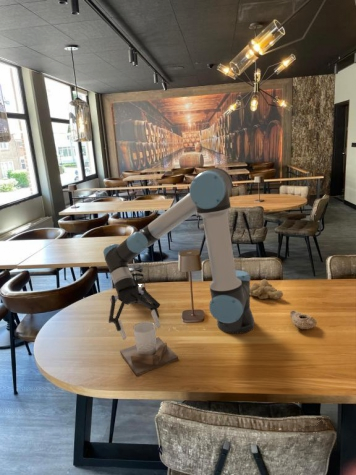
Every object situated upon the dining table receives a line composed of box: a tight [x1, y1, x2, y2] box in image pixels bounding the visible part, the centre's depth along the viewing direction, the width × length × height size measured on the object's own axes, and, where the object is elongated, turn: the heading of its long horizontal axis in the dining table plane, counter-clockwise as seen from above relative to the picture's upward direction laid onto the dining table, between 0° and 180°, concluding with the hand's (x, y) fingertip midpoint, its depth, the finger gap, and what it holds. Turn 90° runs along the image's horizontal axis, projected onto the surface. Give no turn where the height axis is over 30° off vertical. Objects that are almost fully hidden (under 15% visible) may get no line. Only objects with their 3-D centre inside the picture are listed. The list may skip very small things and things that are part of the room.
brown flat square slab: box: [119, 336, 179, 377], centre depth 123 cm, size 16×16×3 cm
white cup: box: [133, 321, 157, 355], centre depth 124 cm, size 8×8×10 cm
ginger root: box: [250, 278, 284, 300], centre depth 165 cm, size 16×16×8 cm
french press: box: [128, 255, 147, 304], centre depth 168 cm, size 12×9×23 cm
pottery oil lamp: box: [289, 310, 318, 330], centre depth 137 cm, size 9×12×7 cm
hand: (142, 332), depth 124 cm, fingers open, 13 cm apart
